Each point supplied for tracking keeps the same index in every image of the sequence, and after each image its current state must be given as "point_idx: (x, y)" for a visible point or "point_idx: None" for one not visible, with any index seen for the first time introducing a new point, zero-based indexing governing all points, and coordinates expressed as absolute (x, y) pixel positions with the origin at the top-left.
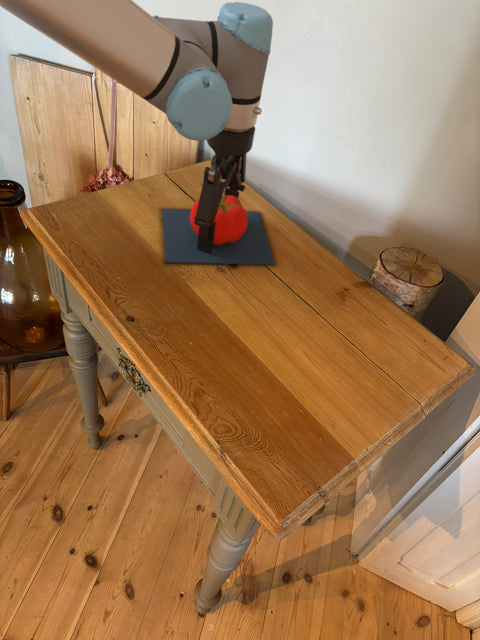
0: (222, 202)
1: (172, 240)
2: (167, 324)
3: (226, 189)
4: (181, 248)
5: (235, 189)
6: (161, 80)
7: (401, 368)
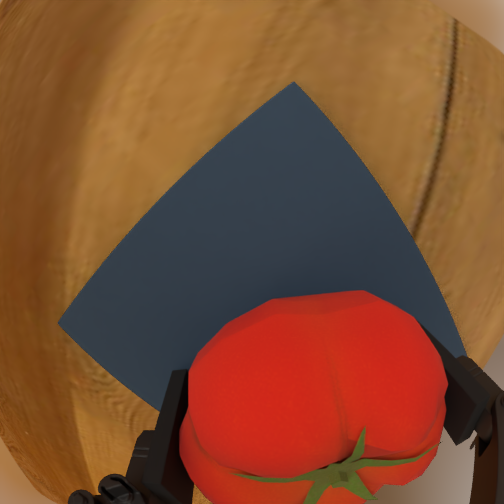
0: (370, 464)
1: (137, 274)
2: (7, 397)
3: (476, 409)
4: (133, 326)
5: (478, 430)
6: None
7: None
